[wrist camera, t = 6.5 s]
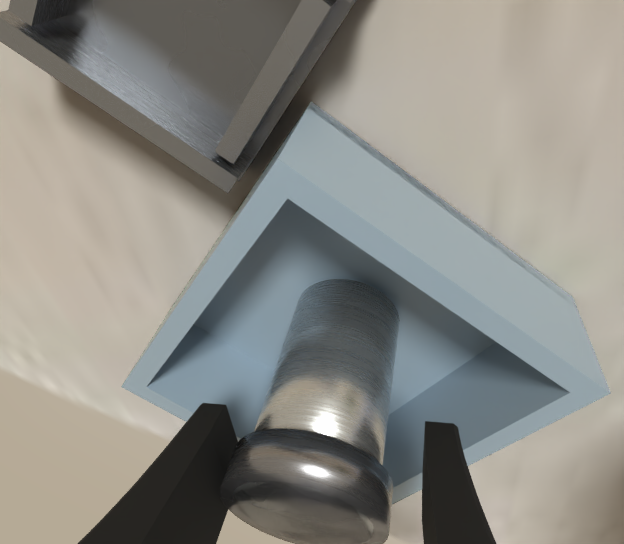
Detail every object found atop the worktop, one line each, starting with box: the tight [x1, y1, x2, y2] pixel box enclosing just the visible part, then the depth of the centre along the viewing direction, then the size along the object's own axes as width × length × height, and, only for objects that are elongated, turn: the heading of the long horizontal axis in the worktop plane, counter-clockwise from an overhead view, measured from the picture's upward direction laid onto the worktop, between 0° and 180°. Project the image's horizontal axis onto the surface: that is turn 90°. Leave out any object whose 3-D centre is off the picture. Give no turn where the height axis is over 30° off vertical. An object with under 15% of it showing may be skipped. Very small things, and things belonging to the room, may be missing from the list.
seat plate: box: [0, 0, 356, 193], centre depth 10 cm, size 6×6×2 cm
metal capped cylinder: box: [220, 279, 400, 544], centre depth 13 cm, size 4×4×6 cm
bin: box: [122, 101, 611, 504], centre depth 14 cm, size 9×9×4 cm
